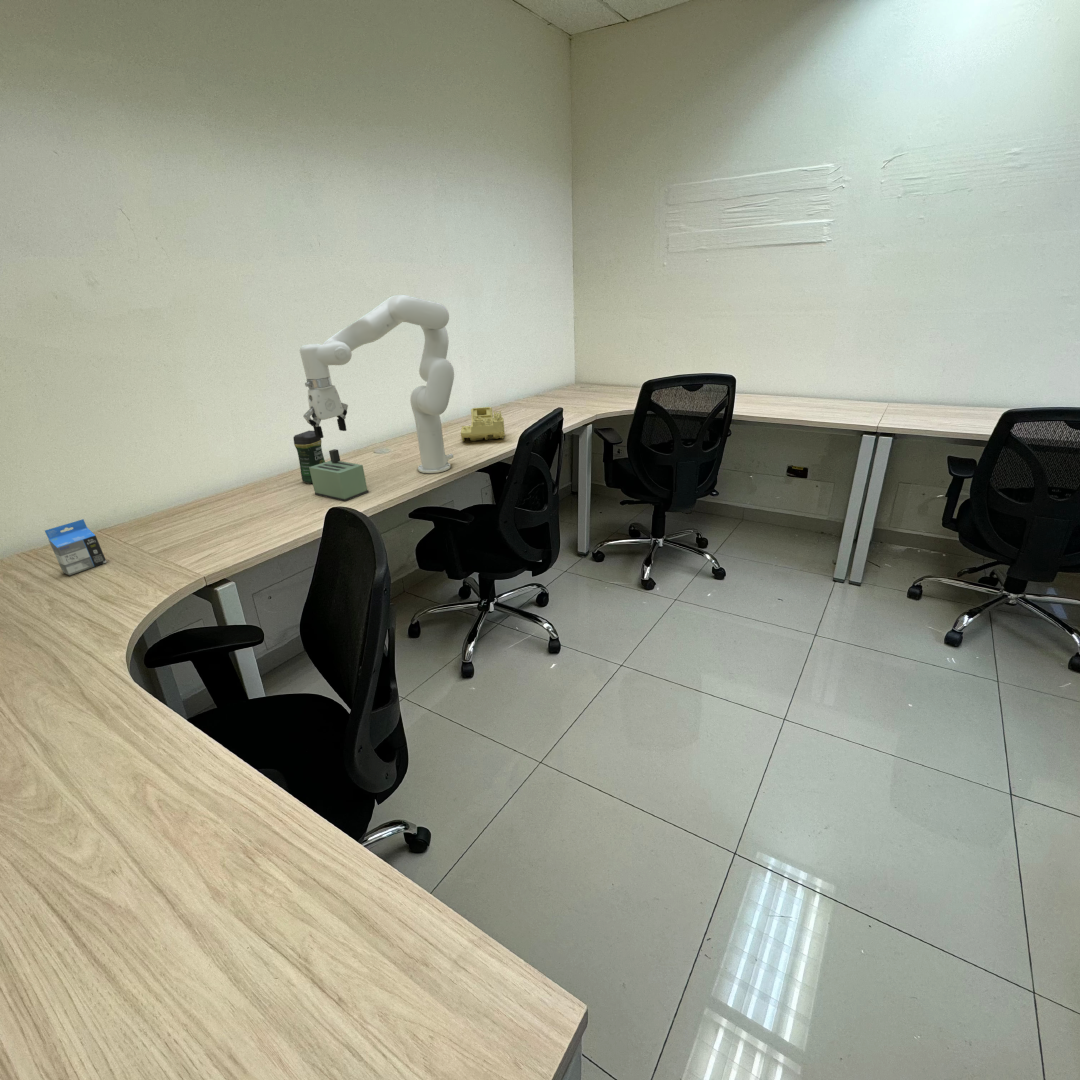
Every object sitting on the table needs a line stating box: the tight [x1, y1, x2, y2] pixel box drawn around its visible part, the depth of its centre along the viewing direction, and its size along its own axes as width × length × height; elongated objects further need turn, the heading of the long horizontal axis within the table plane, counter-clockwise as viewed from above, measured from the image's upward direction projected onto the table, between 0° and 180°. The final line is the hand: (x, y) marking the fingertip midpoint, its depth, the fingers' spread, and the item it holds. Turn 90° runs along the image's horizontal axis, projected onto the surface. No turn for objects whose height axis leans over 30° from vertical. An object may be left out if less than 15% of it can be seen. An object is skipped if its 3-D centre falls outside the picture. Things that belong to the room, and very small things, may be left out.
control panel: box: [460, 406, 506, 442], centre depth 255 cm, size 24×16×20 cm
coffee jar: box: [293, 430, 326, 484], centre depth 206 cm, size 10×8×19 cm
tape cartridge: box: [44, 518, 107, 576], centre depth 146 cm, size 9×4×12 cm, turn 148°
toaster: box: [309, 459, 369, 502], centre depth 192 cm, size 10×16×10 cm, turn 57°
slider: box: [328, 448, 341, 462], centre depth 193 cm, size 2×2×4 cm
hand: (331, 434), depth 190 cm, fingers open, 9 cm apart
